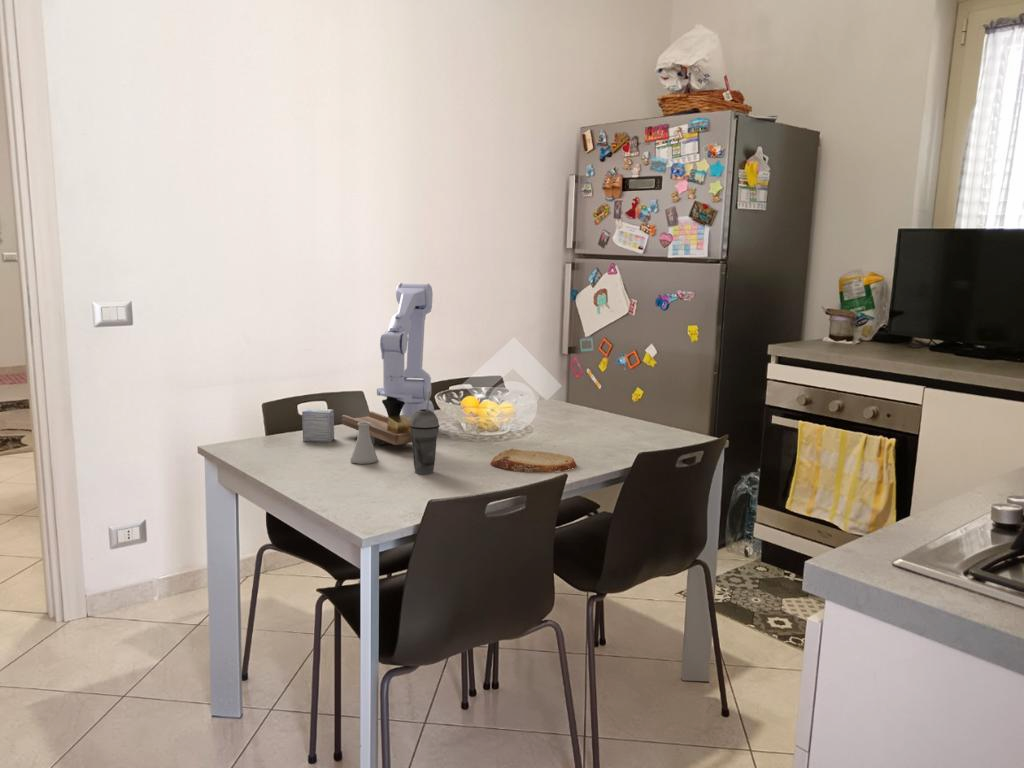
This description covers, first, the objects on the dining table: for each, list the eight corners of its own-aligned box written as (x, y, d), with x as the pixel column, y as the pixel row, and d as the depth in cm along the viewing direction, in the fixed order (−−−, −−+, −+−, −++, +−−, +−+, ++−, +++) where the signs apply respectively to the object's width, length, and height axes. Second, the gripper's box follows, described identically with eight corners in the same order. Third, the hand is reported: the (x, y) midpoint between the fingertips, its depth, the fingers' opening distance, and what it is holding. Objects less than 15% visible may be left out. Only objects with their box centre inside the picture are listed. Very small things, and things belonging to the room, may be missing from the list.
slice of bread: (583, 468, 204) (583, 454, 203) (531, 480, 192) (531, 465, 192) (534, 454, 217) (534, 441, 217) (483, 465, 205) (483, 450, 205)
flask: (347, 464, 202) (346, 425, 200) (353, 457, 209) (352, 419, 207) (375, 465, 202) (375, 426, 200) (380, 458, 209) (380, 420, 207)
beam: (371, 419, 239) (371, 411, 239) (426, 440, 219) (426, 430, 218) (341, 423, 233) (341, 415, 232) (395, 445, 212) (395, 435, 212)
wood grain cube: (402, 428, 223) (403, 414, 222) (412, 434, 219) (413, 420, 218) (387, 430, 220) (388, 416, 219) (396, 436, 216) (398, 422, 215)
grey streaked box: (334, 439, 229) (334, 409, 228) (329, 442, 225) (329, 412, 224) (307, 437, 230) (307, 408, 229) (302, 441, 226) (301, 411, 224)
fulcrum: (394, 440, 229) (394, 430, 229) (398, 441, 228) (398, 431, 227) (370, 444, 224) (370, 434, 223) (374, 445, 222) (374, 435, 222)
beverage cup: (409, 468, 199) (409, 388, 196) (439, 468, 200) (439, 389, 197) (408, 476, 192) (408, 394, 189) (439, 476, 193) (439, 394, 190)
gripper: (367, 373, 222) (367, 421, 224) (396, 380, 211) (396, 431, 213) (389, 371, 226) (389, 419, 228) (418, 378, 216) (418, 427, 218)
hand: (394, 424), depth 221 cm, fingers closed, pressing on wood grain cube
